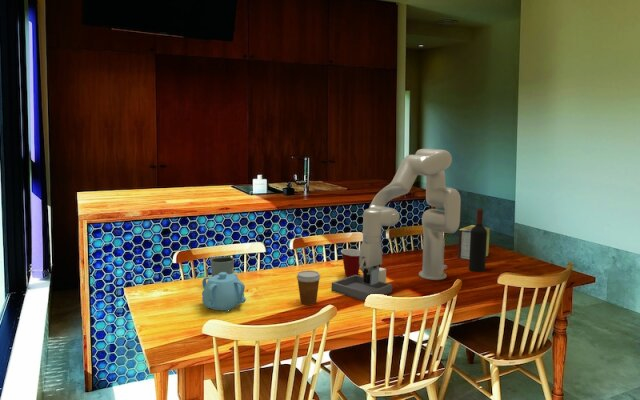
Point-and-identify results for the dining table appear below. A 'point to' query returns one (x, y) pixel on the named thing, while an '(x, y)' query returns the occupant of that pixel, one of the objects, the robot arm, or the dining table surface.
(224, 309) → the decorative pot
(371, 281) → the blue block
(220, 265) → the drinking glass
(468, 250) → the protein box
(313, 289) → the disposable coffee cup
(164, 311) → the dining table surface
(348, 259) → the plastic cup
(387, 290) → the tray
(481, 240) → the wine bottle
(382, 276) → the cream block
